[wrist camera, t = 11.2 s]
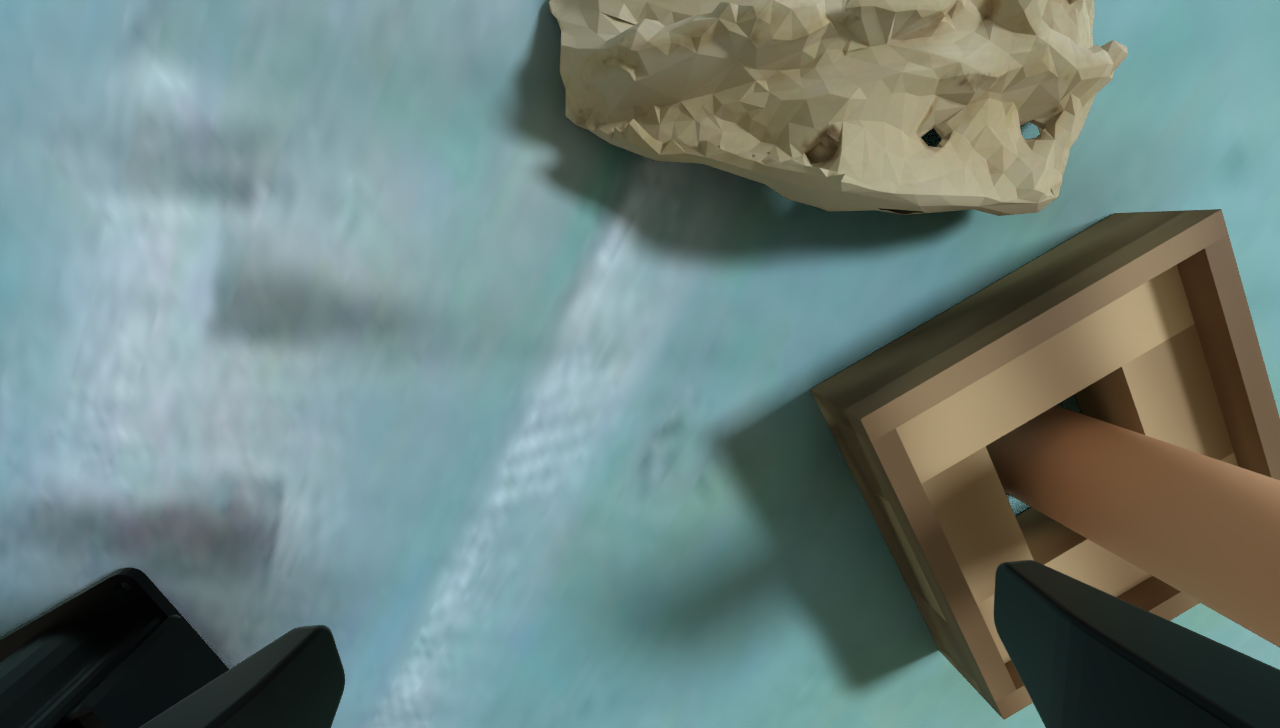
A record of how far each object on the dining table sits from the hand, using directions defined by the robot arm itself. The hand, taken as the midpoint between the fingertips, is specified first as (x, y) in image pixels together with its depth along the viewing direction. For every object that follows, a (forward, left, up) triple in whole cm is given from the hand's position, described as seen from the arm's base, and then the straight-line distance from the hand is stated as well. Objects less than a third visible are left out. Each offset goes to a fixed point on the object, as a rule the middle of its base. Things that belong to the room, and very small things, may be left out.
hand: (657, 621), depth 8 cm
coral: (+12, +6, -13) cm, 19 cm away
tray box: (+12, -10, -12) cm, 20 cm away
